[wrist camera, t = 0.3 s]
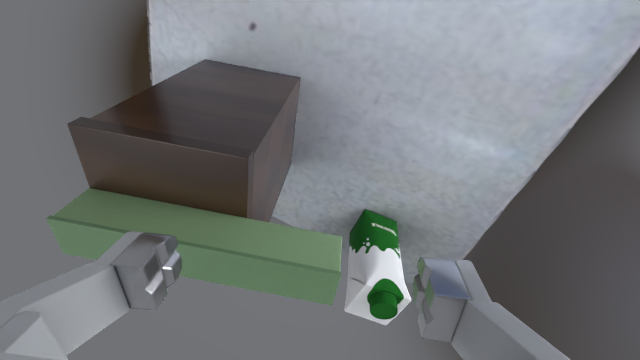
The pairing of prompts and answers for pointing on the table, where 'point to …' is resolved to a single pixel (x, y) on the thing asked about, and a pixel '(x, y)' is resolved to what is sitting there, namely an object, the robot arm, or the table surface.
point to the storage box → (208, 243)
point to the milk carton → (375, 270)
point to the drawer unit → (197, 140)
